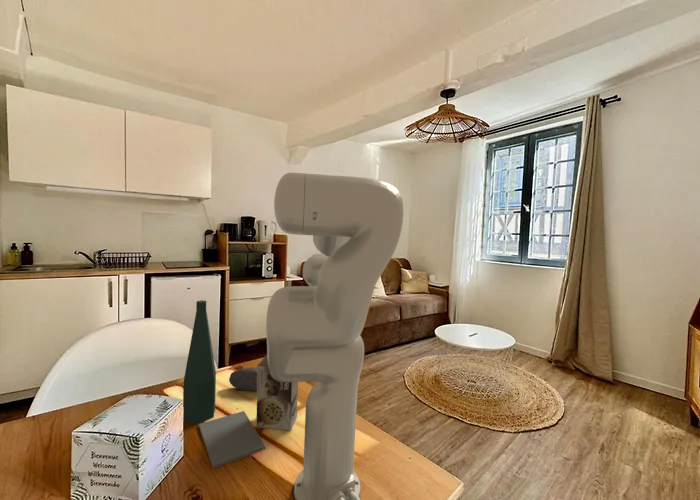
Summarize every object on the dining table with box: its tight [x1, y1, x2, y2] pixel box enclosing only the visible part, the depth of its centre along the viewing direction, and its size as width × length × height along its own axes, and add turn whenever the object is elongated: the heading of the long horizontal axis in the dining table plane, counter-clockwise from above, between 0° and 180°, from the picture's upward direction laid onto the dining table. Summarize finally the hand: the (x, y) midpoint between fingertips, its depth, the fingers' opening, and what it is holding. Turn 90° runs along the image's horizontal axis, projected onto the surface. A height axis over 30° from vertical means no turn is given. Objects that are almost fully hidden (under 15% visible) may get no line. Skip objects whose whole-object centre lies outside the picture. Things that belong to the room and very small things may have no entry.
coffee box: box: [255, 354, 299, 431], centre depth 80 cm, size 9×6×16 cm
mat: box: [198, 410, 267, 469], centre depth 74 cm, size 16×11×1 cm
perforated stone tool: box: [228, 366, 257, 393], centre depth 96 cm, size 15×5×7 cm, turn 86°
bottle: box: [182, 300, 217, 425], centre depth 81 cm, size 8×8×30 cm
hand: (319, 364), depth 87 cm, fingers closed
